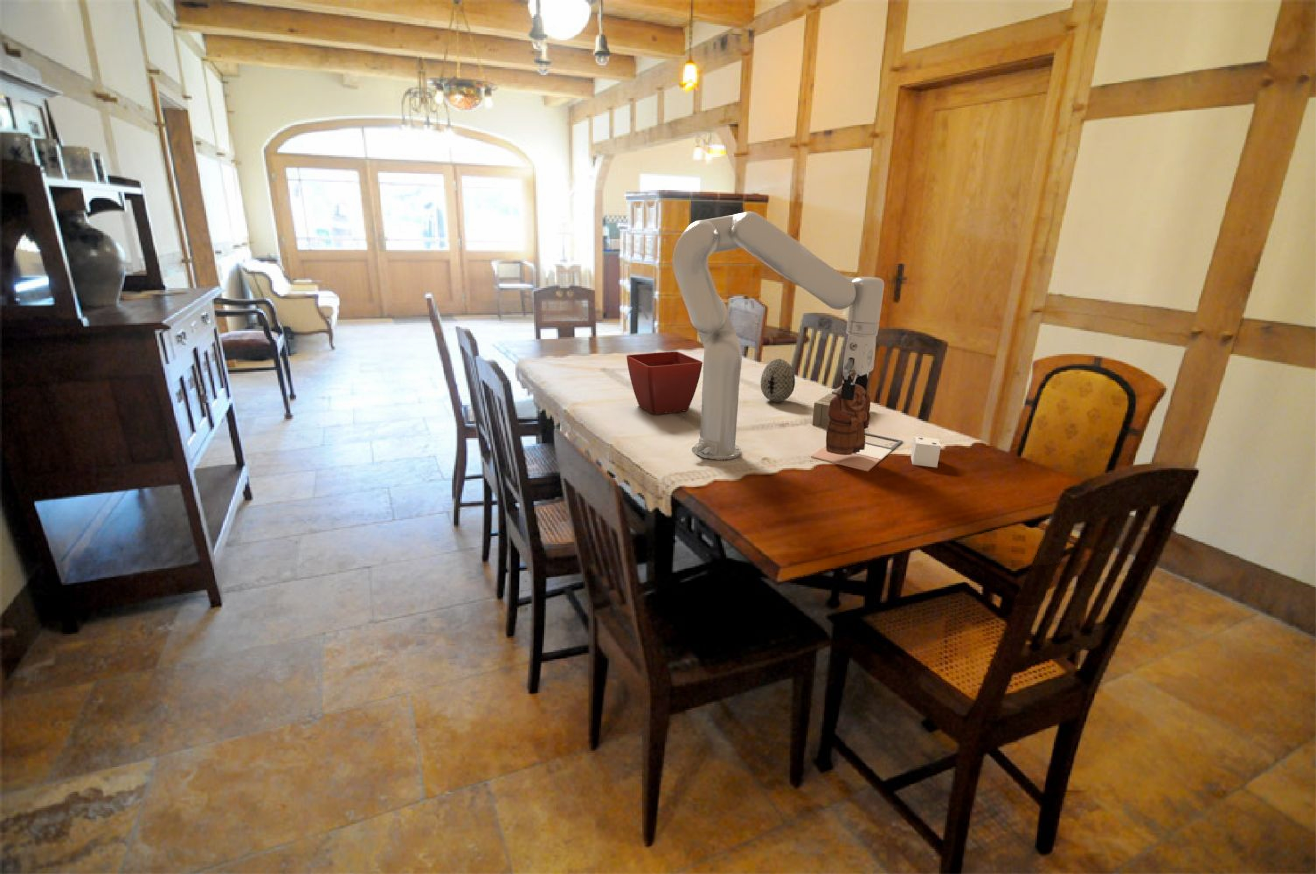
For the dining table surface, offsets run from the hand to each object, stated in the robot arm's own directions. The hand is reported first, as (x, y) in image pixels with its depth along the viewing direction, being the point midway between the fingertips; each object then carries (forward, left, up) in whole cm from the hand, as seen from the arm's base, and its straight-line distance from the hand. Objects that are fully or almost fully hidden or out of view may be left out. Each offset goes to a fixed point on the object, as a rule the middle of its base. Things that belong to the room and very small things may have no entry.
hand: (853, 395), depth 163 cm
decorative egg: (+39, +40, -18) cm, 59 cm away
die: (+12, -17, -18) cm, 27 cm away
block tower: (+37, +16, -18) cm, 44 cm away
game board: (+10, 0, -18) cm, 20 cm away
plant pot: (+6, +65, -18) cm, 68 cm away
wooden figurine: (0, 0, -15) cm, 15 cm away
